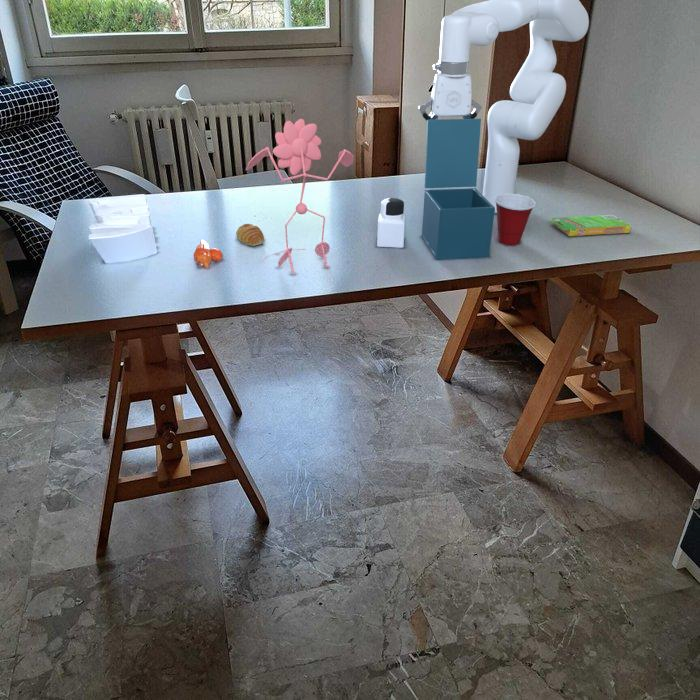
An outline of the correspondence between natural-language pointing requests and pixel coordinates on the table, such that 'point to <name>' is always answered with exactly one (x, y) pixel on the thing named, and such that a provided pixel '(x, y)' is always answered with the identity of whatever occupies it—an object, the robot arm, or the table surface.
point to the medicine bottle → (391, 224)
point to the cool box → (457, 223)
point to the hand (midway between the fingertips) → (447, 138)
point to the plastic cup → (512, 217)
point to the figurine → (297, 154)
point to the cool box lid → (452, 153)
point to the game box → (591, 225)
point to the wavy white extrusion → (122, 228)
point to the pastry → (250, 235)
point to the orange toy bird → (206, 254)
